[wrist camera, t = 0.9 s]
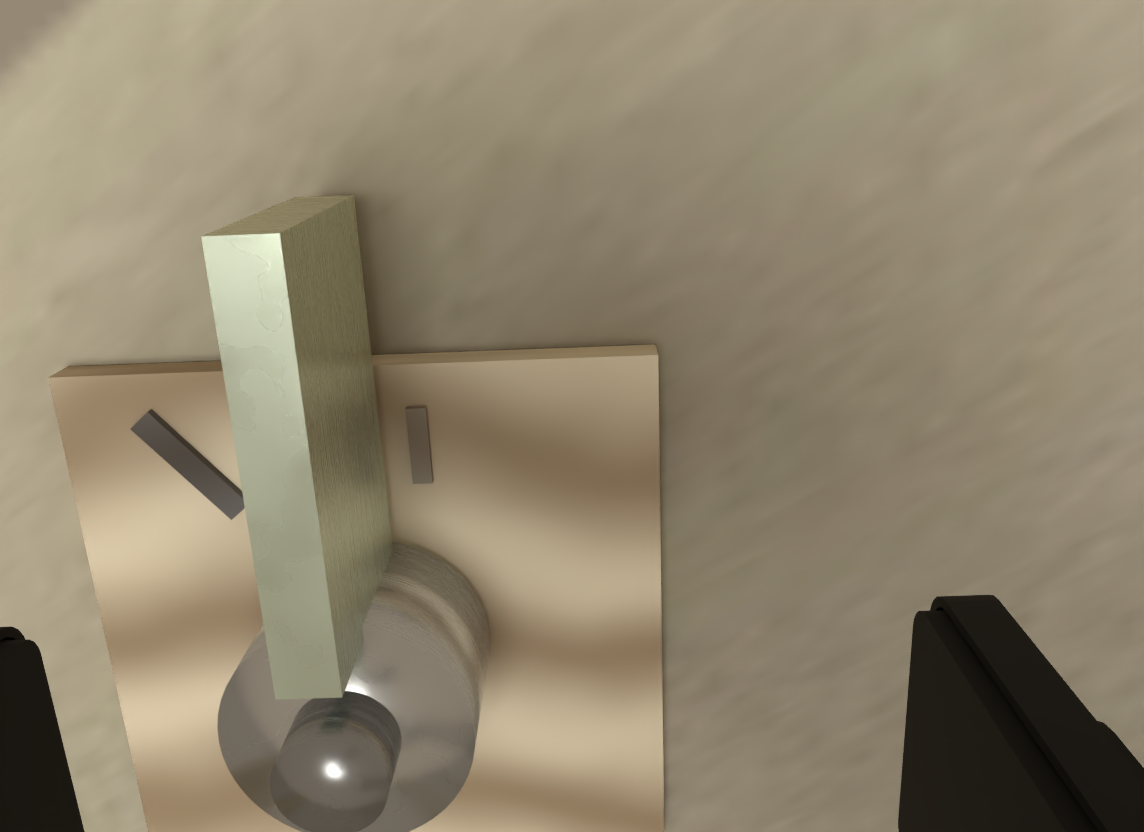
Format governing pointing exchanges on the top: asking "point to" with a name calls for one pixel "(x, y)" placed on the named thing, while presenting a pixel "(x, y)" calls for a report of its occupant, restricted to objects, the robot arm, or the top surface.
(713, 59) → the top surface
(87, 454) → the board
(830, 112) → the top surface
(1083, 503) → the top surface
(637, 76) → the top surface
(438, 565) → the green panel with knob
